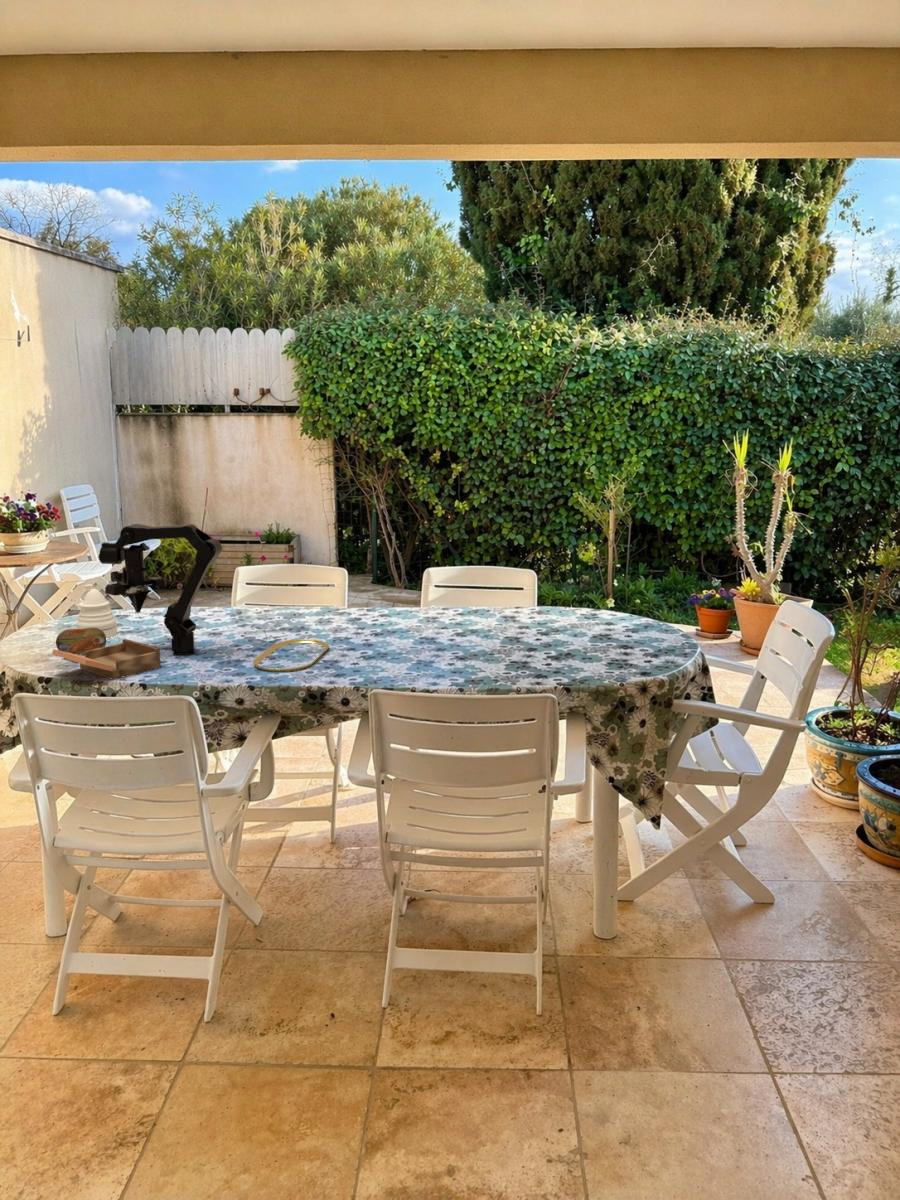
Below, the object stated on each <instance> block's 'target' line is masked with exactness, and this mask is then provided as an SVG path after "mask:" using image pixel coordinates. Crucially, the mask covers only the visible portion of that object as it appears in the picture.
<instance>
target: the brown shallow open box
mask: <svg viewBox="0 0 900 1200" xmlns="http://www.w3.org/2000/svg"><path fill="white" fill-rule="evenodd" d="M84 657H86V658H90V659H93V660H96V661H99V662H102V663H105V664H108V665H112V666H113V669H112V671H109V670H105V669H101V668H96V667H92V666H88V665H84V664H81V663H79V669H80V668H82V669H81V670H83V669H85V670H84V671H86V670H88V671H87V672H89V671H91V672H90V673H92V672H94V673H93V674H95V673H97V674H96V675H98V674H100V675H99V676H101V675H103V676H102V677H104V676H106V677H105V678H107V677H109V678H108V679H110V678H112V679H111V680H113V679H114V680H116V679H115V678H118V679H120V678H119V677H121V678H123V677H122V676H125V677H128V676H127V675H129V676H131V675H130V674H133V675H135V674H134V673H137V674H140V673H139V672H141V673H143V671H145V672H148V671H147V670H149V671H152V670H151V669H153V670H156V668H157V669H159V667H161V668H162V666H161V650H160V647H157V646H154V645H153V646H152V645H148V644H146V643H143V642H142V643H141V642H138V641H134V640H131V639H126V638H124V639H122V642H121V643H116V644H111V645H105V647H102V648H97V649H93V650H88V651H85V654H84Z"/></svg>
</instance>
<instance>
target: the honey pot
mask: <svg viewBox="0 0 900 1200" xmlns="http://www.w3.org/2000/svg"><path fill="white" fill-rule="evenodd" d="M84 589H85V590H86V591H88V592H87V593H86V595H85V597H84V599H83V601H81V602H79V603H78V607H79V608H80V611H79V612H78V617H77V622H76V629H78V628H91V627H94V628H98V629H100V630H102V631H103V632H104V634H105V635H106V638H111V637H114V636H116V635H117V636H118V626H117V620H116V618H115V616H114V613H113V610H112V609H111V607H110V604H111V603H110V601H108V600H107V599H106V598H105V596H104V595H103V593H102V592H101V591H100V590H98V589H97V588H93V584H92V583H91V584H84ZM117 636H116V637H117ZM114 638H115V637H114ZM111 639H112V638H111Z"/></svg>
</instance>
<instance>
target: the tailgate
mask: <svg viewBox="0 0 900 1200" xmlns="http://www.w3.org/2000/svg"><path fill="white" fill-rule="evenodd" d="M51 654H52V655H53V656H57V657H60V658H63V660H65V661H69V662H70V663H74V664H80V663H81V664H84V665H88V666H92V667H96V668H101V669H105V670H109V671H112V669H113V666H112V665H108V664H105V663H102V662H99V661H96V660H93V659H90V658H86V657H85V656H83V655H76V654H72V653H67V652H63V651H59V650H58V649H54V648H53V649H52V652H51Z"/></svg>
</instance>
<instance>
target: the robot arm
mask: <svg viewBox="0 0 900 1200" xmlns="http://www.w3.org/2000/svg"><path fill="white" fill-rule="evenodd" d="M180 538H181V539H183V538H184V539H186V540H187V541H188V543H189V544H190V545H191V547H192V548H193V549H195V550H196V554H195V561H194V562H195V563H194V566H193V569H192V570H191V572H190V574H189V577H188V578H187V581H186V582H185V585H184V588H183V589H182V592H181V594H180V596H179V599H178V600H177V602H176V601H175V602H173V603H172V604H170V605H168V607H167V610H166V613H165V614H164V615H163V618H164V619H163V623H164V625H165V628H166V629H167V630H168V631H169V634H170V635H171V636H170V637H172V638H171V640H170V641H171V652H172V653H173V655H174V656H178V655H194V654H195V651H196V647H195V646H196V645H195V630H196V629H197V624H196V622H194V621H193V620H192V619H191V618H190V616H191V612H192V611H191V610H192V604H193V602H194V600H195V598H196V596H197V593H198V592H199V590H200V587H201V585H202V584H203V581H204V579H205V577H206V574H207V572H208V570H209V569H210V567H211V566H212V565H213V563H214V562H215V561H216V560H217V559H218V558H219V556H220V554H221V553H222V551H223V546H222V543H221V542H220V541H219V540H218V539H215V538H212V536H210V535H209V534H208V533H206V532H204V531H203V530H201V529H199V527H197V526H196V525H195V524H193V523H188V524H181V525H180V524H179V525H165V526H164V525H163V526H161V525H160V526H150V525H146V524H138V523H133V524H130V525H127V526H124V527H123V528H122V529H121V530H120V534H119V538H118V539H117V541H116V542H113V543H112V542H102V543H101V547H100V549H99V554H98V559H99V561H100V563H101V564H102V565H121V564H122V563H123V562H124V567H123V568H122V572H119V571H118V570H116V571H115V570H114V571H112V572H110V580H111V582H112V583H111V584H110V583H109V584H106V586H105V588H104V590H105V591H104V592H105V594H106V595H111V596H121V595H126V596H127V597H128V599H129V600H130V602H131V604H132V607H133V609H134V611H135V612H136V613H140V612H141V610H142V607H143V605H144V603H145V601H146V599H147V597H148V595H149V594H150V593H151V592H152V590H151V589H149V587H154V586H155V587H156V588H157V589H161V588H166V587H167V582H166V579H165V578H164V577H159V576H152V577H147V578H146V575H145V574H146V572H147V571H148V569H147V567H146V566H145V560H144V559H145V558H144V552H146V551H148V550H150V549H151V548H150V546H148V545H147V544H146V543H145V542H146V541H150V540H161V539H162V540H165V539H166V540H168V539H180ZM138 543H139V544H138ZM129 545H130V546H129ZM126 546H129V547H126Z"/></svg>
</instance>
